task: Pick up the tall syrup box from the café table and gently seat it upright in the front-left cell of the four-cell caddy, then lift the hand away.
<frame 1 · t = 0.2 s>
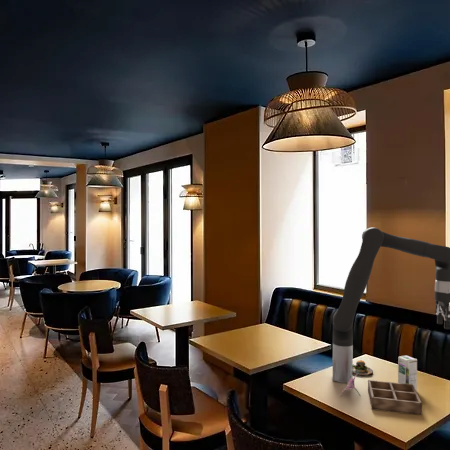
hand: (443, 326, 178), 29 cm above the table, fingers open, 8 cm apart
burger: (360, 373, 198), on the table
lily: (350, 395, 173), on the table
caddy: (393, 402, 166), on the table
syrup box: (407, 390, 178), on the table
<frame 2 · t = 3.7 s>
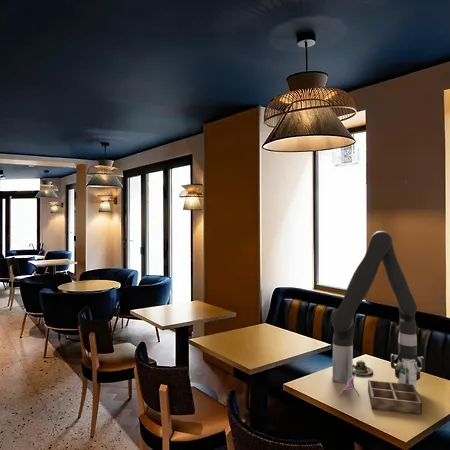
hand: (407, 378, 178), 5 cm above the table, fingers closed on syrup box, 7 cm apart
syrup box: (407, 390, 178), on the table, touching gripper
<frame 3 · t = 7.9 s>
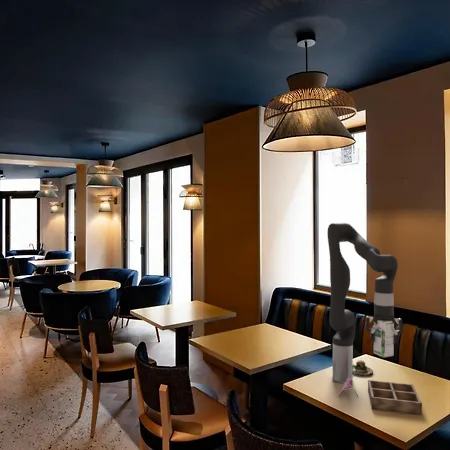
hand: (383, 342, 163), 26 cm above the table, fingers closed on syrup box, 7 cm apart
syrup box: (383, 355, 163), point 21 cm above the table, touching gripper
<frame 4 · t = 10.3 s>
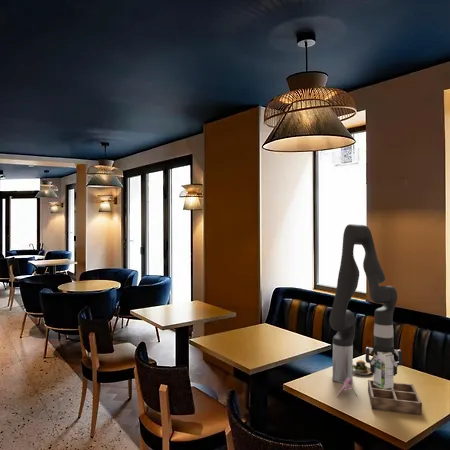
hand: (383, 373, 163), 13 cm above the table, fingers closed on syrup box, 7 cm apart
syrup box: (383, 386, 163), point 8 cm above the table, touching gripper
when the fingers open (7 cm above the table, at t = 12.3 s): syrup box drops 1 cm, resting on caddy.
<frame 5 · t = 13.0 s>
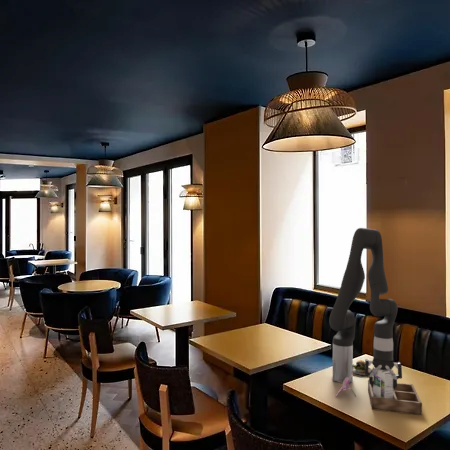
hand: (382, 386, 163), 8 cm above the table, fingers open, 8 cm apart
syrup box: (383, 403, 163), point 1 cm above the table, touching caddy
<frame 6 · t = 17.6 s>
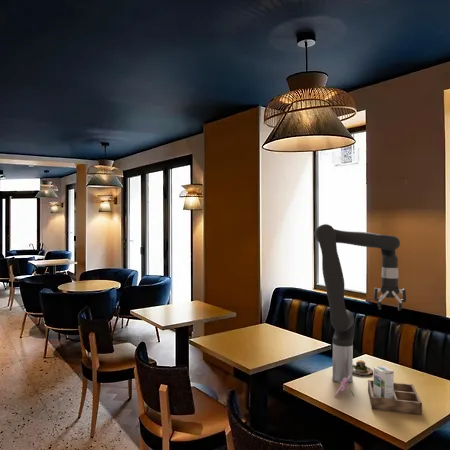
hand: (389, 310, 191), 33 cm above the table, fingers open, 8 cm apart
at the end: syrup box 0.0 cm from the target spot on the caddy, point 0.6 cm above the caddy's base; syrup box tilted 0°; the gripper is holding nothing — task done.
